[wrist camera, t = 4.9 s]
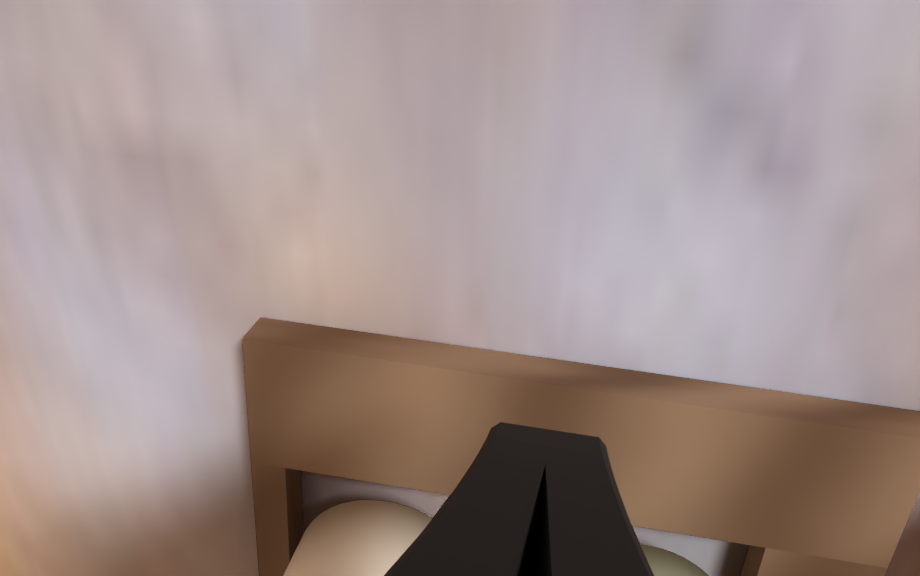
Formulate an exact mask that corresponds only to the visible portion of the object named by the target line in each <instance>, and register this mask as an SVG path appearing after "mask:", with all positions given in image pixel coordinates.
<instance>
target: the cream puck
mask: <svg viewBox="0 0 920 576" xmlns="http://www.w3.org/2000/svg"><path fill="white" fill-rule="evenodd" d="M431 520H432V518H431V517H429V516H427V515H425V514H424V513H422V512H419V511H417V510H415V509H413V508H410V507H407V506H404V505H401V504H397V503H392V502H388V501H380V500H358V501H350V502H346V503H342V504H339V505H336V506H333V507H331V508H329V509H327V510H325V511H324V512H322V513H321V514H320V515H318V516H317V517H316V518H315V519H314V520H313V521H312V522H311V523H310V524H309V526H308V527H307V529H306V530H305V532H304V534H303V536H302V538H301V540H300V542H299V544H298V546H297V548H296V550H295V553H294V555H293V557H292V559H291V561H290V563H289V565H288V567H287V569H286V571H285V573H284V575H283V576H384V575H385V574H386V573H387V571H388V570H389V569H390V568H391V567H392V566H393V565H394V563H395V562H396V561H397V560H398V559H399V558H400V557H401V555H402V554H403V553H404V552H405V551H406V550H407V549H408V547H409V546H410V545H411V544H412V543H413V542H414V541H415V539H416V538H417V537H418V536H419V535H420V534H421V532H422V531H423V530H424V529H425V527H426V526H427V525H428V524H429V522H430V521H431Z"/></svg>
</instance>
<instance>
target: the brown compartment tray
mask: <svg viewBox="0 0 920 576" xmlns="http://www.w3.org/2000/svg"><path fill="white" fill-rule="evenodd" d="M242 343H243V357H244V371H245V385H246V399H247V413H248V427H249V441H250V455H251V469H252V483H253V497H254V511H255V525H256V539H257V553H258V567H259V576H283V575H284V573H285V571H286V569H287V567H288V565H289V563H290V561H291V559H292V557H293V555H294V553H295V550H296V548H297V546H298V544H299V542H300V540H301V538H302V536H303V509H302V481H301V471H307V472H313V473H319V474H325V475H331V476H337V477H343V478H349V479H355V480H361V481H367V482H373V483H379V484H385V485H391V486H397V487H403V488H409V489H415V490H421V491H427V492H433V493H439V494H445V495H451V493H452V492H453V491H454V489H455V488H456V487H457V485H458V484H459V482H460V481H461V479H462V478H463V476H464V475H465V473H466V472H467V470H468V469H469V467H470V466H471V464H472V463H473V461H474V459H475V458H476V456H477V454H478V453H479V451H480V449H481V447H482V446H483V444H484V442H485V440H486V438H487V436H488V434H489V431H490V429H491V428H492V427H494V426H495V425H497V424H498V423H500V422H504V423H510V424H517V425H523V426H530V427H536V428H543V429H549V430H556V431H562V432H569V433H576V434H582V435H589V436H595V437H599V438H600V439H601V440H602V442H603V443H604V444H605V445H606V447H607V452H608V457H609V461H610V464H611V468H612V471H613V475H614V478H615V481H616V484H617V487H618V490H619V493H620V496H621V498H622V501H623V504H624V506H625V509H626V512H627V514H628V517H629V519H630V522H631V524H632V526H637V527H643V528H649V529H655V530H661V531H667V532H673V533H679V534H685V535H691V536H697V537H703V538H709V539H715V540H721V541H727V542H733V543H739V544H745V545H749V549H748V552H747V555H746V559H745V562H744V565H743V569H742V572H741V575H740V576H885V574H886V571H887V569H888V567H889V564H890V562H891V559H892V557H893V554H894V552H895V550H896V547H897V545H898V542H899V540H900V537H901V535H902V533H903V530H904V528H905V525H906V523H907V521H908V518H909V516H910V513H911V511H912V508H913V506H914V504H915V501H916V499H917V496H918V494H919V491H920V411H914V410H907V409H900V408H893V407H886V406H879V405H872V404H865V403H858V402H851V401H844V400H837V399H830V398H823V397H816V396H809V395H802V394H795V393H788V392H780V391H773V390H766V389H759V388H752V387H745V386H738V385H731V384H724V383H717V382H710V381H703V380H696V379H689V378H682V377H675V376H668V375H661V374H654V373H647V372H640V371H633V370H626V369H619V368H612V367H605V366H598V365H591V364H584V363H577V362H570V361H563V360H556V359H549V358H542V357H534V356H527V355H520V354H513V353H506V352H499V351H492V350H485V349H478V348H471V347H464V346H457V345H450V344H443V343H436V342H429V341H422V340H415V339H408V338H401V337H394V336H387V335H380V334H373V333H366V332H359V331H352V330H345V329H338V328H331V327H324V326H317V325H310V324H303V323H295V322H288V321H281V320H274V319H267V318H260V319H259V320H258V321H257V322H256V323H255V325H254V326H253V327H252V328H251V329H250V331H249V332H248V333H247V334H246V335H245V337H244V338H243V339H242Z"/></svg>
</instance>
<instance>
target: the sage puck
mask: <svg viewBox="0 0 920 576" xmlns="http://www.w3.org/2000/svg"><path fill="white" fill-rule="evenodd" d="M640 545H641V544H640ZM641 548H642V550H643V552H644V554H645V556H646V559H647V561H648V563H649V565H650V568H651V570H652V572H653V574H654V576H708V575H707V574H706V573H705V572H704V571H703V570H702V569H701V568H699V567H698V566H697V565H695V564H694V563H692V562H690V561H689V560H687V559H685V558H684V557H681V556H679V555H677V554H675V553H672V552H670V551H667V550H664V549H661V548H657V547H652V546H648V545H641Z"/></svg>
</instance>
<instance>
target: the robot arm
mask: <svg viewBox="0 0 920 576" xmlns="http://www.w3.org/2000/svg"><path fill="white" fill-rule="evenodd" d="M384 576H654V574H653V572H652V570H651V568H650V565H649V563H648V561H647V559H646V556H645V554H644V552H643V550H642V548H641V545H640V543H639V541H638V539H637V536H636V534H635V532H634V529H633V527H632V524H631V522H630V519H629V517H628V514H627V512H626V509H625V506H624V504H623V501H622V498H621V496H620V493H619V490H618V487H617V484H616V481H615V478H614V475H613V471H612V468H611V464H610V461H609V457H608V452H607V447H606V445H605V444H604V443H603V442H602V440H601V439H600V438H599V437H595V436H589V435H582V434H576V433H569V432H562V431H556V430H549V429H543V428H536V427H530V426H523V425H517V424H510V423H504V422H500V423H498V424H497V425H495V426H494V427H492V428H491V429H490V431H489V434H488V436H487V438H486V440H485V442H484V444H483V446H482V447H481V449H480V451H479V453H478V454H477V456H476V458H475V459H474V461H473V463H472V464H471V466H470V467H469V469H468V470H467V472H466V473H465V475H464V476H463V478H462V479H461V481H460V482H459V484H458V485H457V487H456V488H455V489H454V491H453V492H452V493H451V495H450V496H449V497H448V499H447V500H446V501H445V503H444V504H443V505H442V506H441V508H440V509H439V510H438V512H437V513H436V514H435V516H434V517H433V518H432V520H431V521H430V522H429V524H428V525H427V526H426V527H425V529H424V530H423V531H422V532H421V534H420V535H419V536H418V537H417V538H416V539H415V541H414V542H413V543H412V544H411V545H410V546H409V547H408V549H407V550H406V551H405V552H404V553H403V554H402V555H401V557H400V558H399V559H398V560H397V561H396V562H395V563H394V565H393V566H392V567H391V568H390V569H389V570H388V571H387V573H386V574H385V575H384Z"/></svg>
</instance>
